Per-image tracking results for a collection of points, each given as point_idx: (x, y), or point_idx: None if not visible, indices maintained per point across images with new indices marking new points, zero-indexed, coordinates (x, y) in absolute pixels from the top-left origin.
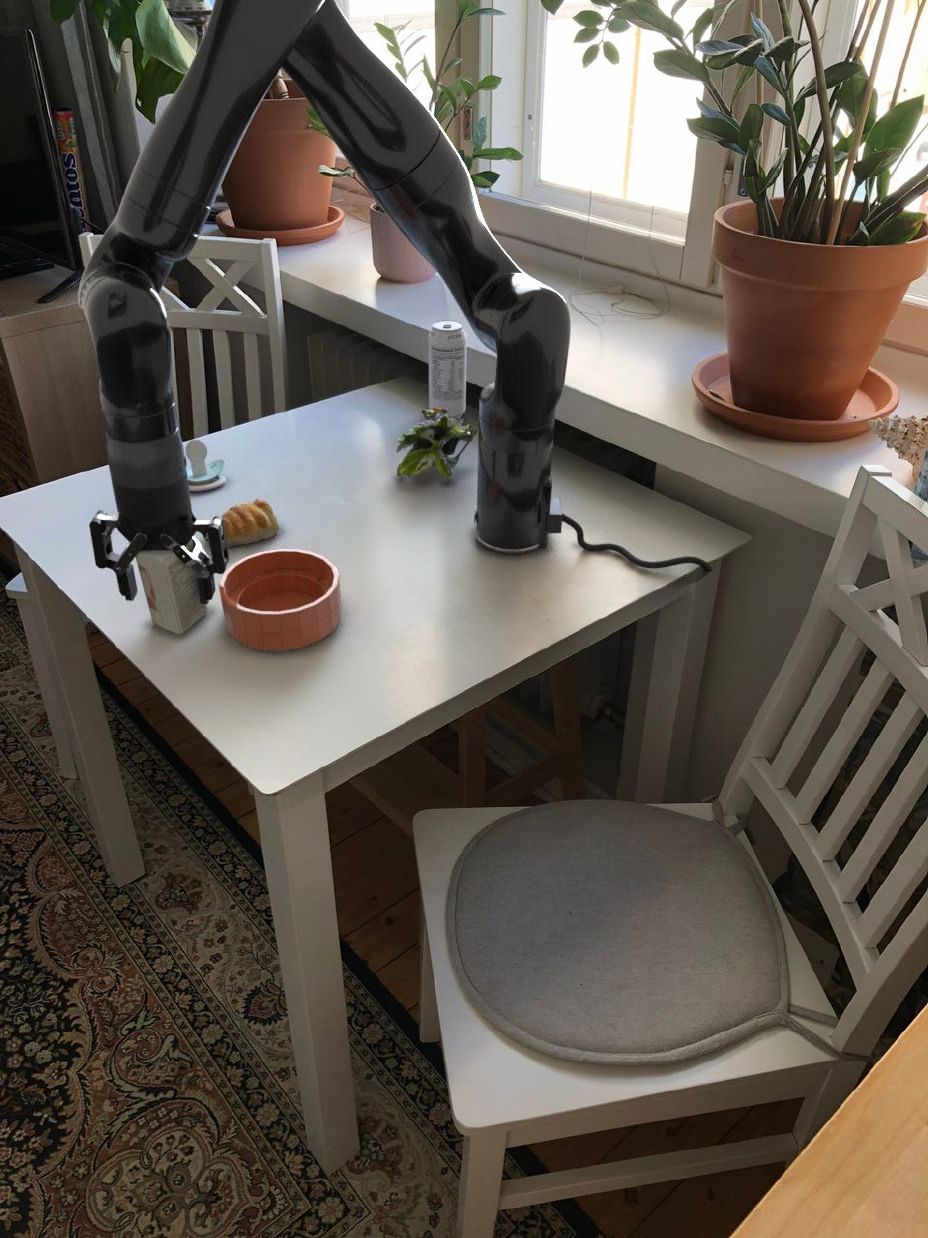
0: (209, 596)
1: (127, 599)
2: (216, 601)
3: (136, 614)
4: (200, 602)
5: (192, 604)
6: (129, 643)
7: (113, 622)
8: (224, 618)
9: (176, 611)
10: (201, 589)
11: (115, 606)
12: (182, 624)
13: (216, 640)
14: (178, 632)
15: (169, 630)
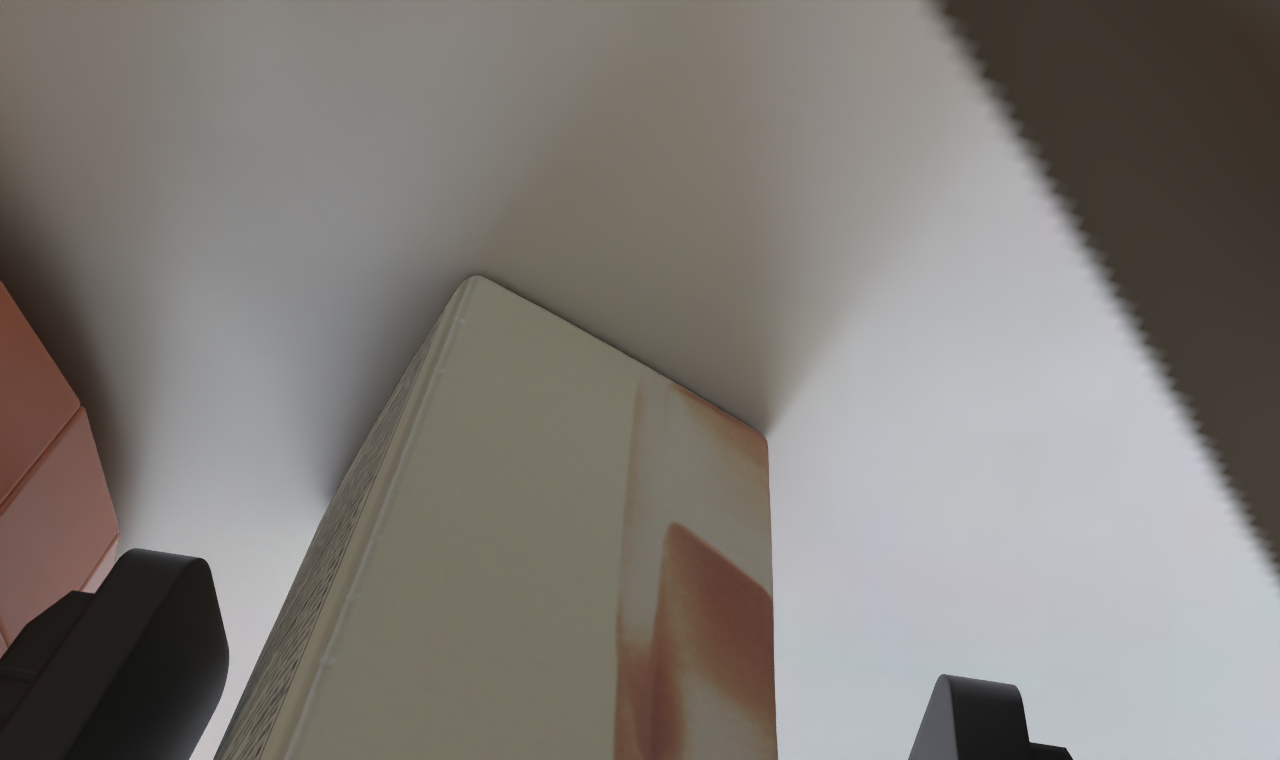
0: (66, 626)
1: (1000, 694)
2: None
3: (935, 574)
4: (183, 570)
5: (309, 568)
6: (980, 192)
7: (1143, 504)
8: (7, 387)
9: (390, 460)
10: (58, 711)
11: (1119, 676)
12: (423, 359)
13: (89, 156)
14: (481, 289)
15: (589, 337)
